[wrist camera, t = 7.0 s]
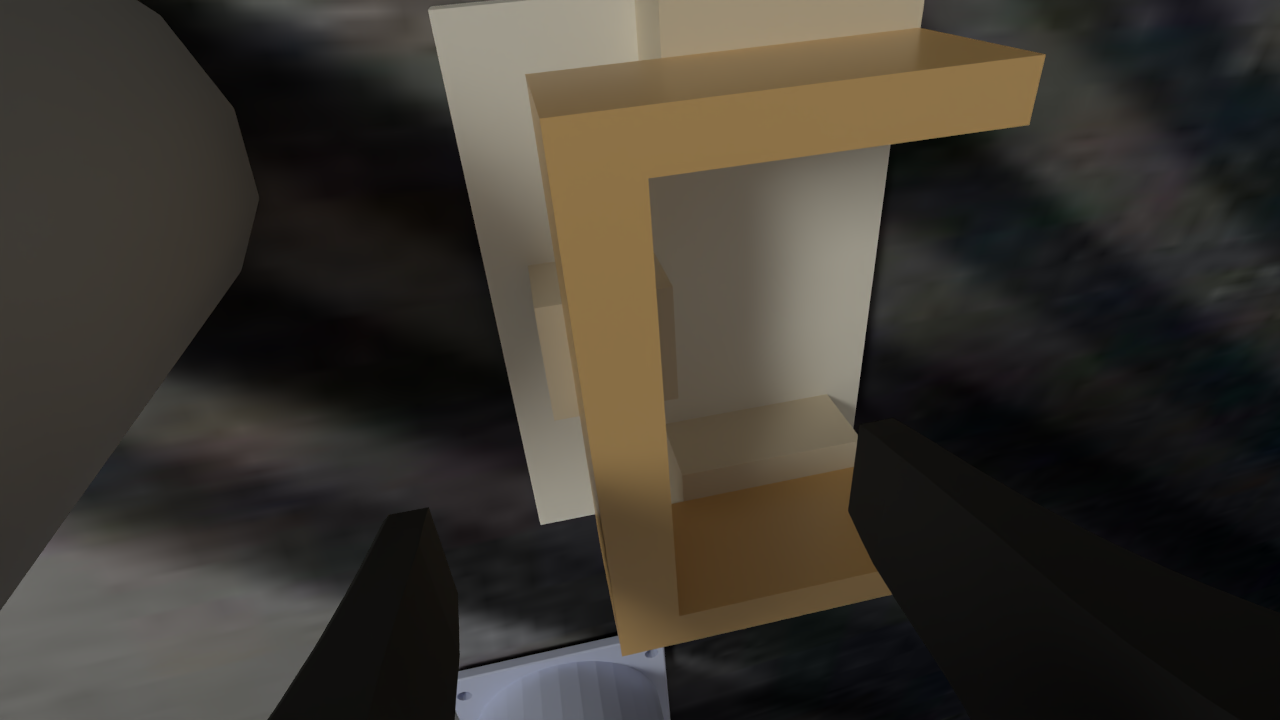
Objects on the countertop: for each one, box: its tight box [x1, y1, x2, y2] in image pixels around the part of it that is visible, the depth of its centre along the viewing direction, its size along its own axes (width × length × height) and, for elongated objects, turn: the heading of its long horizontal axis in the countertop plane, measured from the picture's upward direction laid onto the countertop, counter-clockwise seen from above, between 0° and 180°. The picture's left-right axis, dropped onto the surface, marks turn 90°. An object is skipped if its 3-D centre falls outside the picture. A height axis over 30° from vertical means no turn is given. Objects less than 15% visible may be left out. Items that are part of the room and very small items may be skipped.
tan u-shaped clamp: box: [525, 28, 1046, 657], centre depth 14 cm, size 7×12×3 cm, turn 5°
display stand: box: [428, 0, 924, 525], centre depth 17 cm, size 10×14×3 cm
